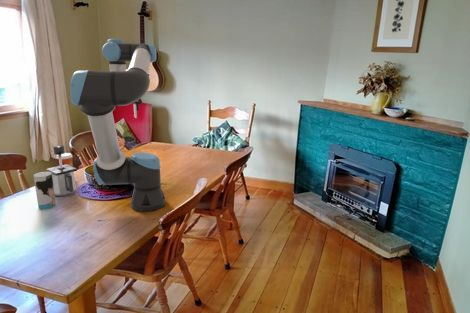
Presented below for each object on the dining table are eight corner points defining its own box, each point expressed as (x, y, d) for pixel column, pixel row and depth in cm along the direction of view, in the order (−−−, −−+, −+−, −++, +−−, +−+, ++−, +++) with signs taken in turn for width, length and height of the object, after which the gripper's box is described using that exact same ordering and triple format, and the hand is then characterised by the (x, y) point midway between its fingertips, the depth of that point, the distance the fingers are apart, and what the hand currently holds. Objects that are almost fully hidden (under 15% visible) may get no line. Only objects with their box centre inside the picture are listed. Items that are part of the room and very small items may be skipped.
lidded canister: (83, 193, 158) (80, 169, 154) (61, 200, 150) (58, 175, 146) (69, 186, 165) (66, 163, 162) (48, 193, 157) (44, 168, 154)
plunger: (75, 188, 158) (70, 146, 153) (60, 192, 153) (54, 149, 147) (67, 184, 163) (62, 143, 157) (52, 189, 157) (46, 146, 151)
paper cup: (68, 182, 170) (65, 157, 166) (55, 181, 172) (52, 155, 168) (78, 177, 178) (75, 153, 174) (66, 176, 179) (63, 152, 175)
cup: (53, 209, 141) (49, 176, 137) (36, 210, 139) (31, 177, 135) (57, 202, 147) (53, 171, 143) (41, 203, 146) (36, 172, 141)
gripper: (143, 73, 163) (145, 115, 169) (88, 73, 152) (93, 118, 158) (146, 74, 157) (148, 118, 163) (90, 74, 146) (94, 121, 152)
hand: (121, 118), depth 161 cm, fingers open, 13 cm apart
